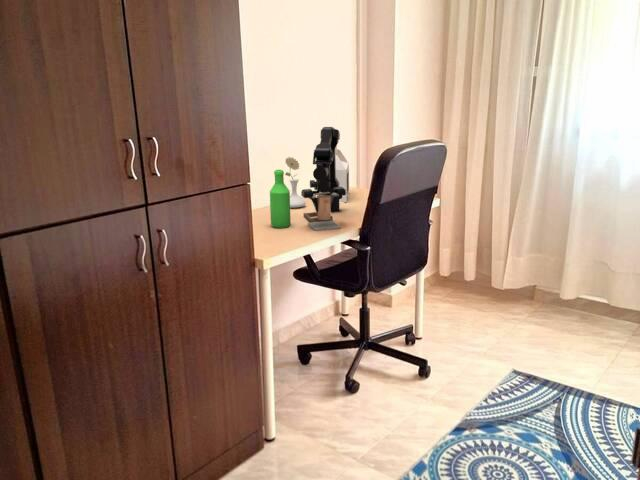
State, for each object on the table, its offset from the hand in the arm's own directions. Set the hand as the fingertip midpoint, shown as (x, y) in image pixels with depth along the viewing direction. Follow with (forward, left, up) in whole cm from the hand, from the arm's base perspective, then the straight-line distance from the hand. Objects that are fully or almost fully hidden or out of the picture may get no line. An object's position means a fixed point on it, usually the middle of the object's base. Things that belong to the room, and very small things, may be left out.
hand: (323, 211), depth 248 cm
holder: (-1, -14, -7) cm, 15 cm away
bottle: (+18, -7, -7) cm, 21 cm away
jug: (0, 0, -3) cm, 3 cm away
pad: (0, 0, -7) cm, 7 cm away
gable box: (-21, -53, -7) cm, 58 cm away
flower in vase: (+4, -42, -7) cm, 43 cm away
